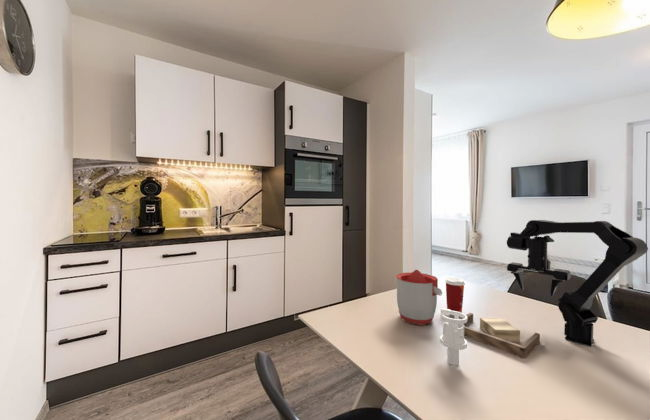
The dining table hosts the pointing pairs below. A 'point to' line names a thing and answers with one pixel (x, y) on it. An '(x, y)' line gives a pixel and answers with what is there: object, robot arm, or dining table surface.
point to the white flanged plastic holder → (453, 334)
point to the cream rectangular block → (500, 329)
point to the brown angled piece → (501, 340)
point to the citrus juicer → (417, 297)
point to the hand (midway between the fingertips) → (536, 292)
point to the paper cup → (454, 294)
